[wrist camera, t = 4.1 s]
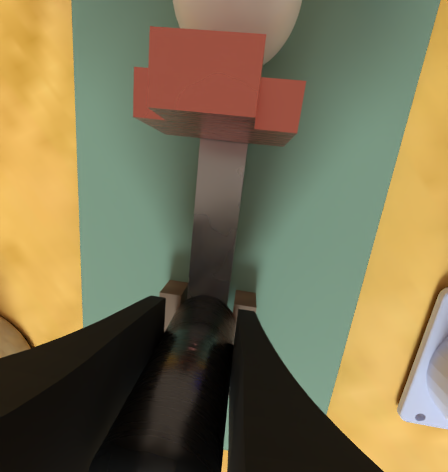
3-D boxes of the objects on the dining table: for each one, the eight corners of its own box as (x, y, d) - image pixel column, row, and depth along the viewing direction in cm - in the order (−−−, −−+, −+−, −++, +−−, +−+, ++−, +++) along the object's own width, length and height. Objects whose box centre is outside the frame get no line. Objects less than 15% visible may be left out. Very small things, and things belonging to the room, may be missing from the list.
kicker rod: (284, 117, 10) (377, -51, 3) (248, 342, 12) (247, 563, 5) (178, 106, 10) (7, -66, 3) (165, 328, 12) (57, 517, 5)
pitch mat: (422, 12, 9) (442, -8, 8) (307, 448, 15) (311, 467, 14) (87, -8, 10) (70, -27, 9) (96, 406, 16) (86, 421, 15)
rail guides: (255, 292, 12) (256, 307, 10) (242, 375, 13) (241, 398, 12) (169, 279, 12) (159, 292, 11) (164, 361, 13) (154, 382, 12)
